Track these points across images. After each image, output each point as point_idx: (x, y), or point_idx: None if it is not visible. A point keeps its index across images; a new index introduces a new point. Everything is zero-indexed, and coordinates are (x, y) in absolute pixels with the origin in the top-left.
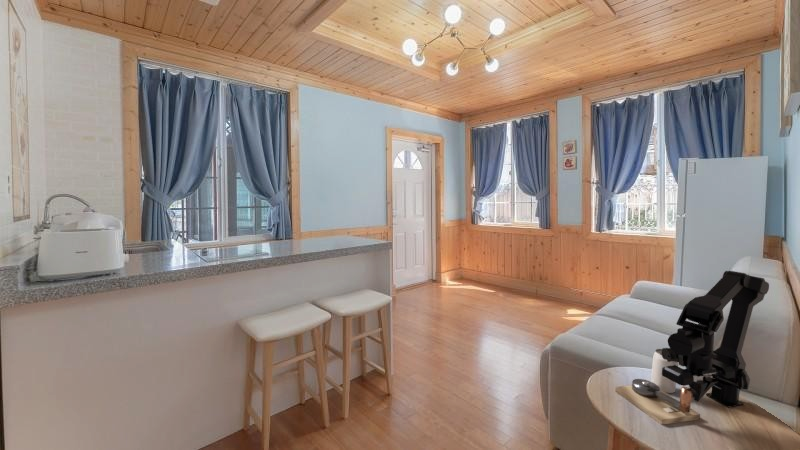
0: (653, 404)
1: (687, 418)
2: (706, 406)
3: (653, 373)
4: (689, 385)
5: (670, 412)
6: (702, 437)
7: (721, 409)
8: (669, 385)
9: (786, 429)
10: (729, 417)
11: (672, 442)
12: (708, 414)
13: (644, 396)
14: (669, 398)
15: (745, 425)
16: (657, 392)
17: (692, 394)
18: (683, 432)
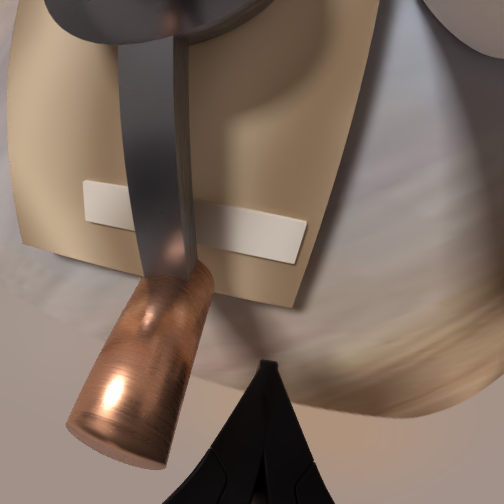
0: (70, 117)
1: None
2: (481, 237)
3: None
4: (184, 482)
5: (104, 223)
6: None
7: (497, 281)
8: (483, 25)
9: (481, 390)
10: (447, 324)
11: (25, 298)
12: (399, 280)
13: None
14: (134, 190)
15: (423, 364)
16: (120, 63)
17: (243, 395)
18: (93, 295)
